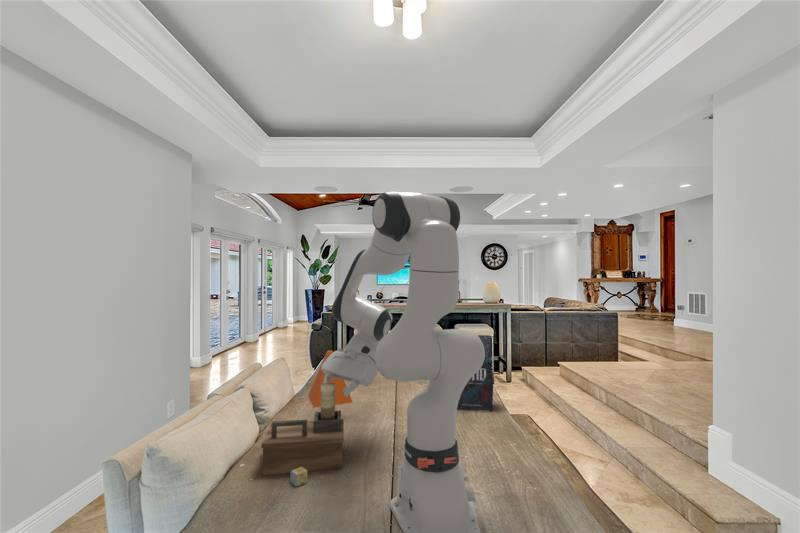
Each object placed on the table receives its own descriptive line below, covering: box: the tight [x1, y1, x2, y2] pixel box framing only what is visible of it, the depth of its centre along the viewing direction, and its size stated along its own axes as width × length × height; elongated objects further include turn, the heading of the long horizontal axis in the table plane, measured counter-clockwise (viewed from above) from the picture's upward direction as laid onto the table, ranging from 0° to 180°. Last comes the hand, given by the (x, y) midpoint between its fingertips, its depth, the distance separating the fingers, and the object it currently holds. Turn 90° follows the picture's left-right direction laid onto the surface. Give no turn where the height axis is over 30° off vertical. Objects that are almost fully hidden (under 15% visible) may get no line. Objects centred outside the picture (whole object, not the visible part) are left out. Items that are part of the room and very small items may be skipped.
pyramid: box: [307, 350, 353, 409], centre depth 156 cm, size 16×16×20 cm
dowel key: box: [320, 383, 336, 420], centre depth 108 cm, size 4×4×12 cm
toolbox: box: [260, 410, 345, 476], centre depth 105 cm, size 14×21×12 cm, turn 99°
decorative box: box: [457, 334, 494, 412], centre depth 147 cm, size 8×16×28 cm, turn 81°
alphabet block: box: [289, 467, 308, 488], centre depth 93 cm, size 3×3×3 cm
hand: (333, 391), depth 110 cm, fingers open, 8 cm apart
